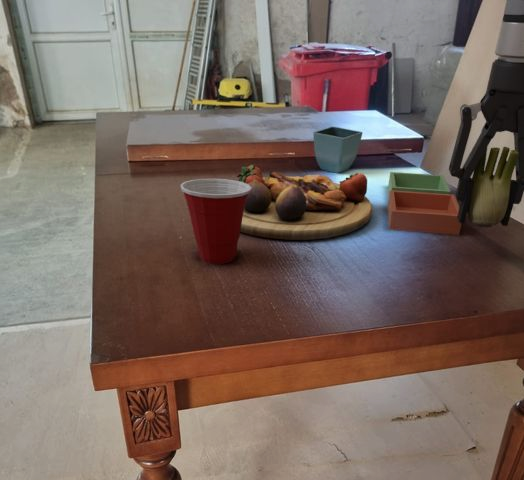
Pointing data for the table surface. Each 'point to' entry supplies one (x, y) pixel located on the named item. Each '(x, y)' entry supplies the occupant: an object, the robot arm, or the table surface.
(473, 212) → the fennel bulb
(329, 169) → the flower pot
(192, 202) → the plastic cup
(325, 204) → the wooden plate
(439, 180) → the green bin
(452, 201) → the terracotta bin
